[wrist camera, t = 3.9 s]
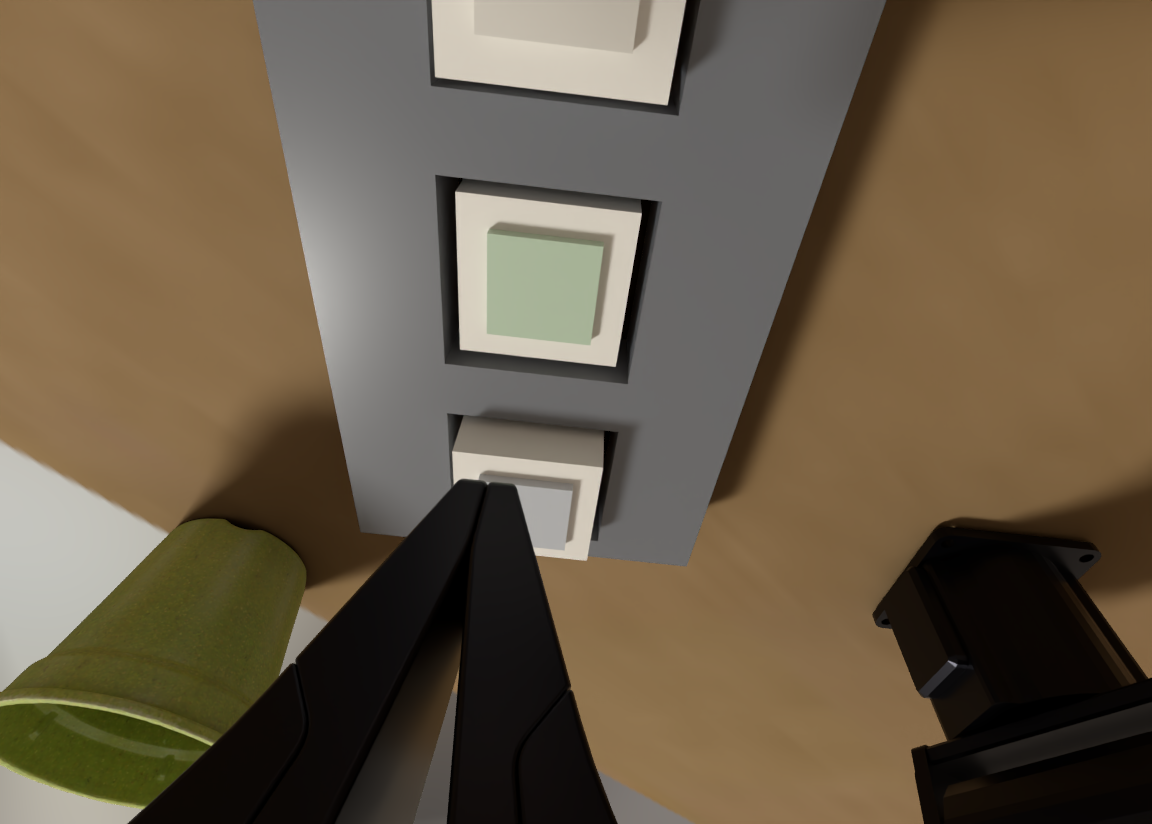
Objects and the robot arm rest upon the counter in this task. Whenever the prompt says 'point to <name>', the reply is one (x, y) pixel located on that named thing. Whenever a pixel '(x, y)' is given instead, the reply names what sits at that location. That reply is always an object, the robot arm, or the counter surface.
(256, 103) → the counter surface
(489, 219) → the key sage
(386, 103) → the gray key board
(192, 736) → the plant pot
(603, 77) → the key ivory
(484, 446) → the key slate
